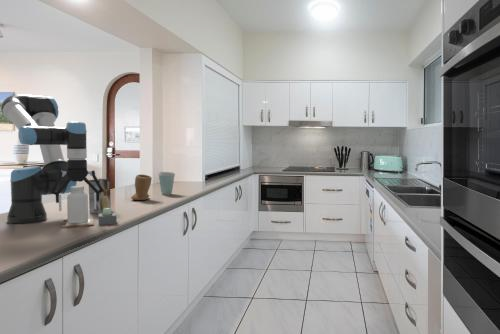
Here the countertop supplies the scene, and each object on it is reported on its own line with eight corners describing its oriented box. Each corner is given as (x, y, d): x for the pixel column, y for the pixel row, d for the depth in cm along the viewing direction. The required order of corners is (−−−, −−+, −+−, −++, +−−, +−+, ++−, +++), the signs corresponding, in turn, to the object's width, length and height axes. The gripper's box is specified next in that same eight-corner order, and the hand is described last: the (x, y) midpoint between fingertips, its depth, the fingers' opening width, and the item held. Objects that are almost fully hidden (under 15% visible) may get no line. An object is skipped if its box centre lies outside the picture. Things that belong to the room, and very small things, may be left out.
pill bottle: (66, 224, 164) (65, 187, 163) (69, 220, 172) (68, 185, 171) (87, 223, 166) (86, 187, 166) (89, 219, 174) (88, 185, 173)
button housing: (98, 224, 167) (98, 216, 167) (98, 221, 174) (98, 213, 173) (116, 223, 170) (116, 215, 169) (115, 220, 176) (115, 212, 176)
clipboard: (61, 228, 161) (61, 225, 161) (63, 221, 174) (63, 218, 174) (93, 225, 165) (93, 223, 165) (93, 219, 178) (93, 217, 178)
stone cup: (150, 201, 234) (149, 175, 233) (129, 201, 233) (128, 175, 232) (154, 197, 249) (153, 173, 248) (134, 197, 248) (134, 173, 247)
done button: (103, 217, 169) (103, 209, 169) (103, 216, 172) (103, 208, 172) (111, 217, 171) (111, 209, 170) (111, 216, 174) (111, 208, 173)
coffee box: (99, 209, 204) (99, 178, 203) (111, 210, 202) (110, 178, 201) (88, 213, 195) (88, 180, 194) (100, 213, 193) (100, 180, 192)
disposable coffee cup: (170, 192, 272) (169, 170, 272) (178, 194, 264) (177, 171, 263) (155, 194, 266) (155, 171, 265) (163, 195, 257) (163, 172, 257)
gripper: (42, 159, 160) (44, 212, 161) (109, 159, 169) (109, 209, 170) (44, 159, 167) (46, 209, 168) (108, 158, 176) (109, 206, 177)
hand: (78, 209), depth 169 cm, fingers open, 13 cm apart
